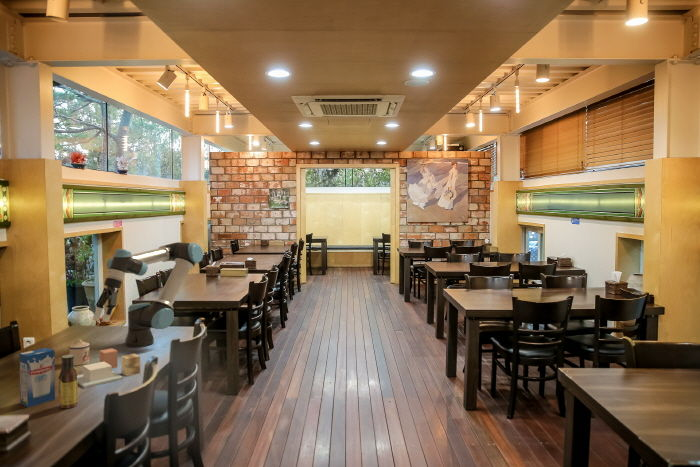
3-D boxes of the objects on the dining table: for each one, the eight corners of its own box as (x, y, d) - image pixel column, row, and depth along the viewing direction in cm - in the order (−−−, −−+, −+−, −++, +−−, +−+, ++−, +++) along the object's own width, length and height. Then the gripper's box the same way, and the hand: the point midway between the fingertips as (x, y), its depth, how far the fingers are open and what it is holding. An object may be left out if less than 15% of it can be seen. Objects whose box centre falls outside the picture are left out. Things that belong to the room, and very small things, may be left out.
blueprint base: (109, 370, 229) (109, 358, 228) (122, 379, 218) (122, 366, 218) (71, 378, 217) (71, 365, 217) (84, 388, 206) (84, 374, 206)
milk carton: (27, 407, 185) (27, 356, 184) (19, 404, 188) (19, 353, 187) (55, 399, 194) (54, 350, 193) (47, 396, 197) (46, 347, 196)
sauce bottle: (64, 403, 190) (63, 353, 189) (80, 402, 191) (80, 353, 190) (55, 409, 184) (55, 358, 183) (72, 409, 184) (72, 358, 183)
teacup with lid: (86, 365, 236) (86, 341, 235) (66, 366, 234) (66, 342, 233) (94, 358, 248) (93, 335, 247) (74, 359, 246) (74, 336, 245)
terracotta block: (112, 364, 239) (112, 348, 238) (117, 367, 234) (117, 350, 234) (99, 367, 234) (99, 350, 234) (104, 369, 230) (104, 353, 230)
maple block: (134, 370, 231) (134, 353, 230) (140, 373, 226) (140, 356, 226) (121, 373, 226) (121, 356, 226) (126, 376, 222) (126, 358, 222)
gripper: (98, 277, 249) (83, 318, 243) (116, 276, 232) (101, 320, 225) (112, 281, 254) (99, 321, 248) (131, 280, 237) (117, 323, 230)
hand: (100, 321), depth 237 cm, fingers open, 13 cm apart
